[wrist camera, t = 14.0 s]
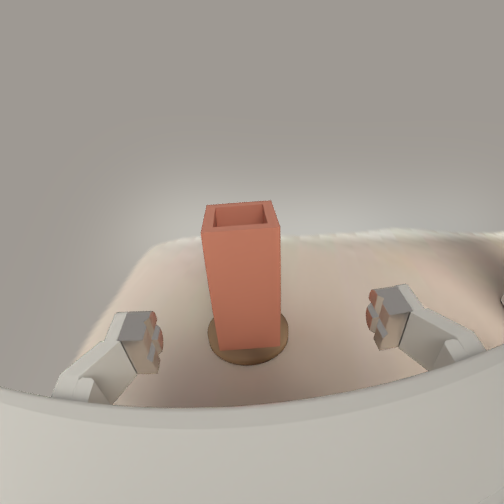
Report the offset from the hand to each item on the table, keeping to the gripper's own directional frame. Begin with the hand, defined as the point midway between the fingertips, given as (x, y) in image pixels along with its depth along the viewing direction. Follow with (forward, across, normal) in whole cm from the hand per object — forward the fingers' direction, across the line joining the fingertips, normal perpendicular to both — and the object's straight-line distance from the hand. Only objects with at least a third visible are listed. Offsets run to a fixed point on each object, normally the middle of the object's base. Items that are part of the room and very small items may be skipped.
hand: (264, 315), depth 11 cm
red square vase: (+14, +1, +14) cm, 19 cm away
